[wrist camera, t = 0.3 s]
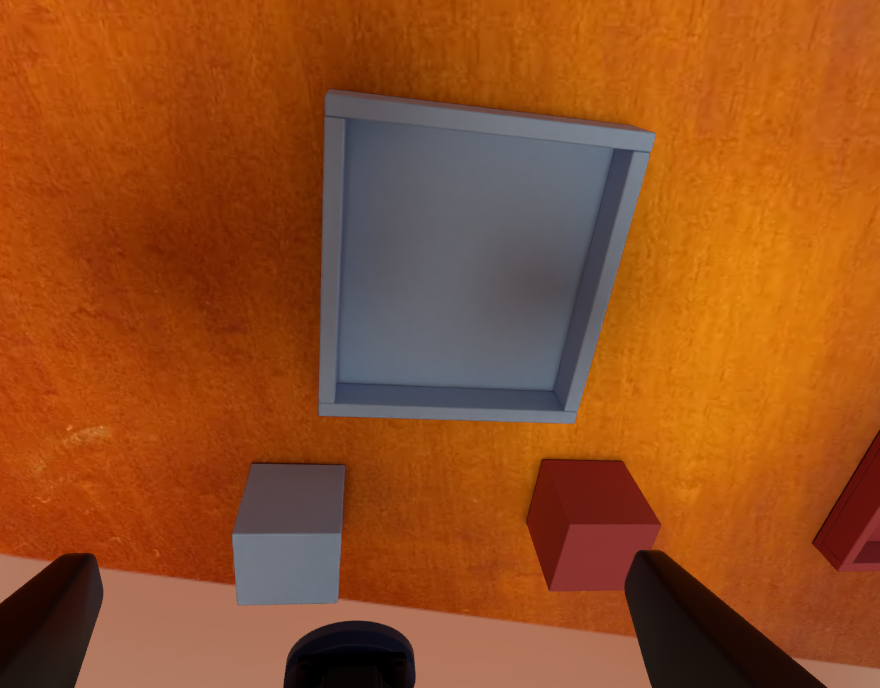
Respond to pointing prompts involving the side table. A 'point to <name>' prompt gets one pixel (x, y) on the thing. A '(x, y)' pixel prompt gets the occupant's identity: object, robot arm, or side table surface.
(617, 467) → the burgundy block
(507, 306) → the blue tray
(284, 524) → the gray block
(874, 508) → the burgundy tray
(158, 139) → the side table surface
